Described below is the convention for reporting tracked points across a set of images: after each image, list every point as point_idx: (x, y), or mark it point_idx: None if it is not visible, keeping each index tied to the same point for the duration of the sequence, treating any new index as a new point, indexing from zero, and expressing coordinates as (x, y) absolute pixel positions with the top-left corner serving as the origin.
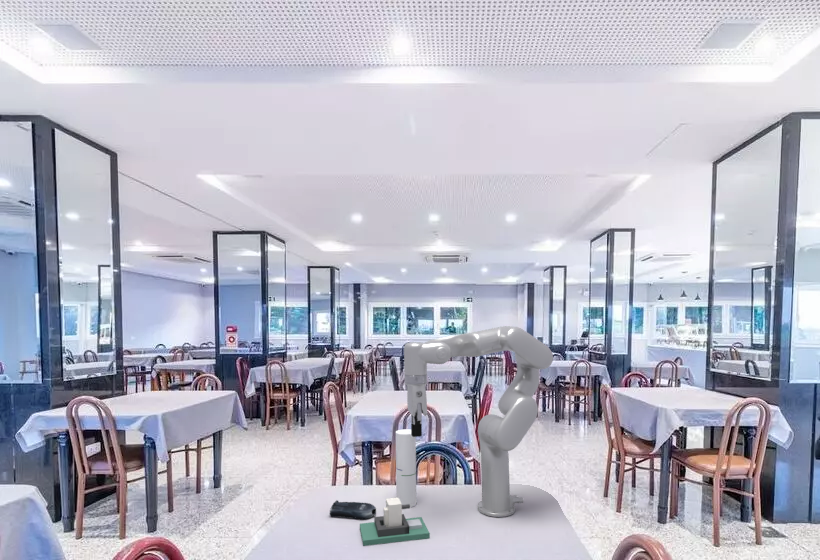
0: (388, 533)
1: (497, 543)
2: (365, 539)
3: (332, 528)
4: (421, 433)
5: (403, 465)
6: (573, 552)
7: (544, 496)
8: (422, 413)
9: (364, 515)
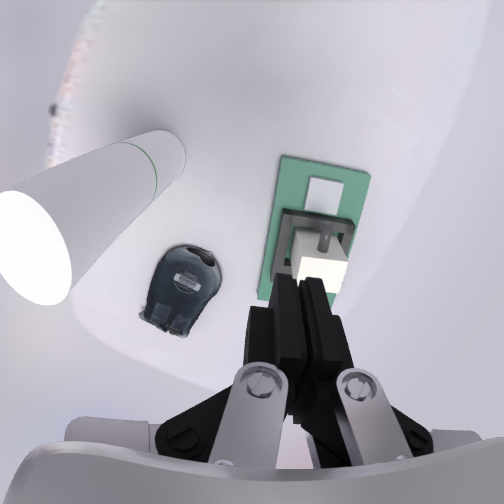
0: None
1: (440, 57)
2: (329, 303)
3: (236, 332)
4: (324, 291)
5: (138, 211)
6: None
7: None
8: (331, 474)
9: (220, 282)
